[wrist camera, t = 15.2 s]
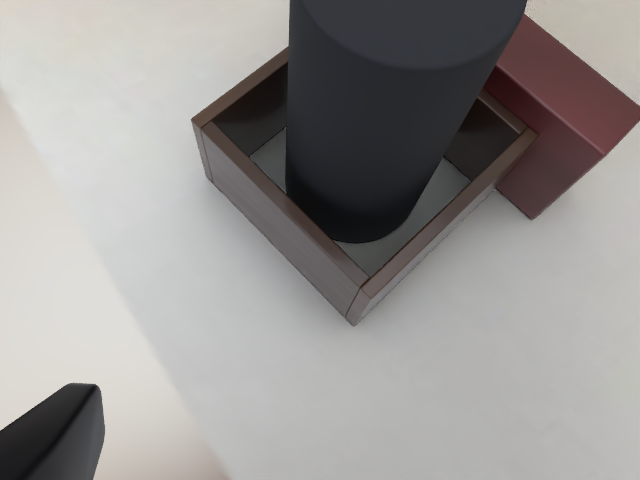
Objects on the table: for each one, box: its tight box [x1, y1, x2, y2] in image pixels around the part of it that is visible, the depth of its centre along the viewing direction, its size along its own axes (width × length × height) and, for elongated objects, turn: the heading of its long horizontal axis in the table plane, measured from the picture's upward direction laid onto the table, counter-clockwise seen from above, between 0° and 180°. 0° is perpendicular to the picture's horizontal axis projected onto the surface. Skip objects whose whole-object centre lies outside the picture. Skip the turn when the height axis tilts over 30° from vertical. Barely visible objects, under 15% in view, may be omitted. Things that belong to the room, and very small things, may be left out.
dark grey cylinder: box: [285, 0, 527, 243], centre depth 15 cm, size 4×4×9 cm
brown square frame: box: [191, 14, 640, 326], centre depth 17 cm, size 9×10×4 cm
